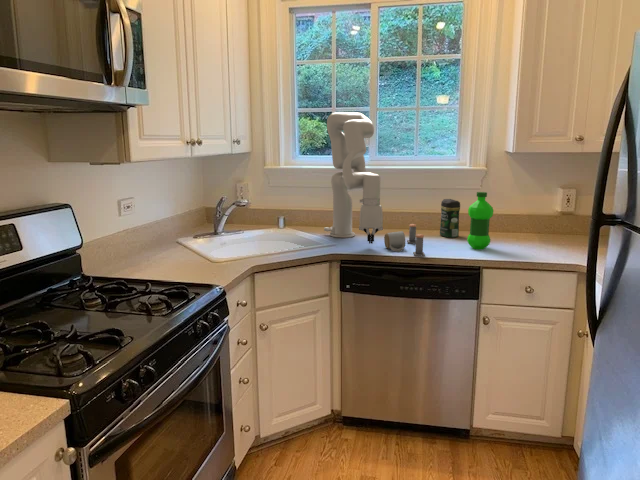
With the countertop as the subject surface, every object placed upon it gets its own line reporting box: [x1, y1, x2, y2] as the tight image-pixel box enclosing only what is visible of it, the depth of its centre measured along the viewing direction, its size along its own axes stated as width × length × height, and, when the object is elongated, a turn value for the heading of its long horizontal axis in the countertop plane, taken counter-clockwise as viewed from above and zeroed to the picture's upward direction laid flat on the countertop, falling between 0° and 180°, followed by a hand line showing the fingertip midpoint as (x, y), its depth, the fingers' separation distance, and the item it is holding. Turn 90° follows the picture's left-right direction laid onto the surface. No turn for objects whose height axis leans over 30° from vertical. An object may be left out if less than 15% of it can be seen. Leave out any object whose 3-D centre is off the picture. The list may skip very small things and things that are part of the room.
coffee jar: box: [439, 198, 461, 239], centre depth 245 cm, size 10×8×19 cm
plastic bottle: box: [466, 191, 494, 251], centre depth 219 cm, size 10×10×25 cm
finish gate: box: [406, 223, 426, 257], centre depth 220 cm, size 4×28×9 cm, turn 176°
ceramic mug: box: [383, 230, 406, 253], centre depth 219 cm, size 11×8×8 cm
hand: (370, 242), depth 222 cm, fingers closed
